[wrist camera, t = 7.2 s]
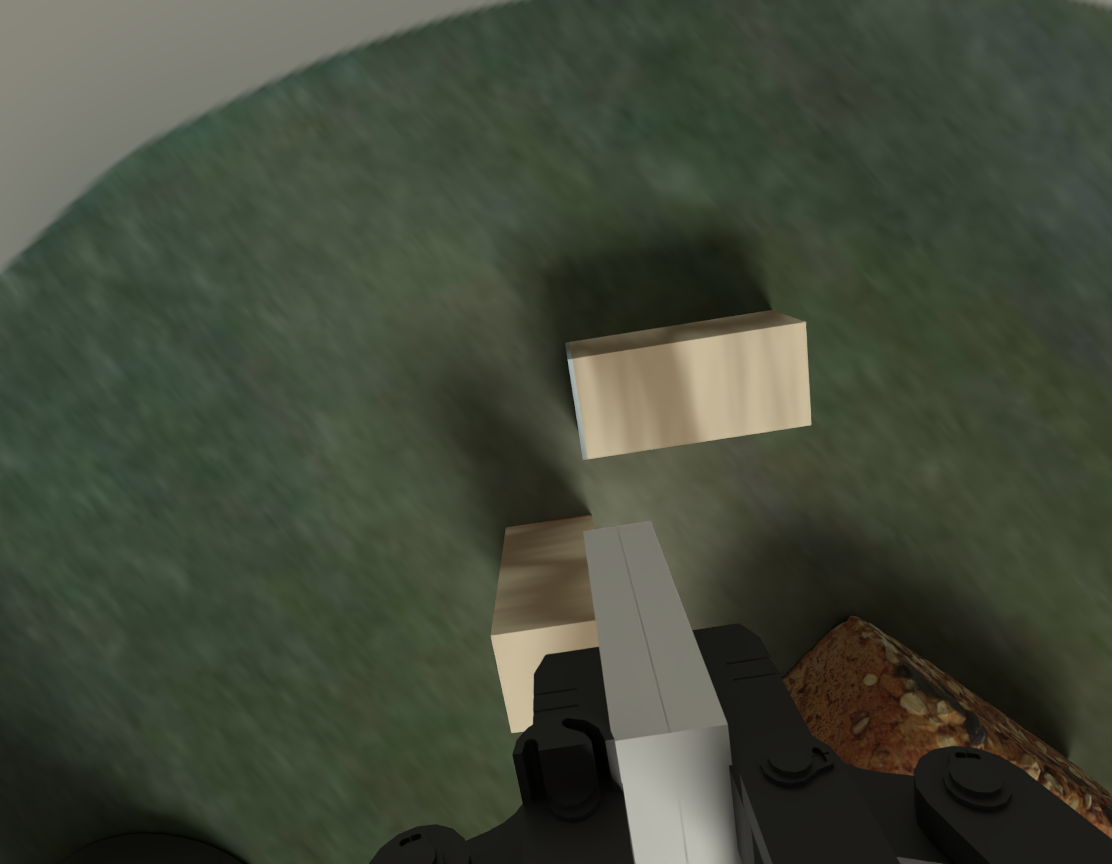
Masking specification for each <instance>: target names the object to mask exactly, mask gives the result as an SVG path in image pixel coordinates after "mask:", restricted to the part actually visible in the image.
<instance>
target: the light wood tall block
mask: <svg viewBox="0 0 1112 864" xmlns="http://www.w3.org/2000/svg"><path fill="white" fill-rule="evenodd" d="M587 530H594V528H593V521H592V515H584V516H578V517H571V518H564V519H558V520H551V521H545V522H538V523H532V524H525V525H519V526H512V527H506V530H505V537H504V544H503V551H502V559H501V566H500V573H499V580H498V587H497V595H496V602H495V609H494V616H493V623H492V630H491V639H492V644H493V649H494V653H495V658H496V663H497V667H498V672H499V677H500V681H501V686H502V691H503V695H504V700H505V705H506V709H507V714H508V719H509V724H510V728H511V733H516V732H523V731H525V730H526V729H527V728H528V727H529V726H531V725H533V715H534V714H533V698H534V695H533V690H534V673H535V671H536V669H537V668H538V666H539V665H540V663H541V661H542V660H543V658H544V656H545V655H547V654H553V653H560V652H567V651H573V650H580V649H586V648H593V647H599V642H598V635H597V628H596V621H595V613H594V606H593V599H592V592H591V585H590V577H589V570H588V563H587V556H586V549H585V541H584V534H583V531H587Z"/></svg>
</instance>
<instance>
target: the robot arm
mask: <svg viewBox="0 0 1112 864" xmlns="http://www.w3.org/2000/svg"><path fill="white" fill-rule="evenodd" d="M583 534H584V541H585V549H586V556H587V563H588V570H589V577H590V585H591V592H592V599H593V606H594V613H595V621H596V628H597V635H598V642H599V647H593V648H586V649H580V650H573V651H567V652H560V653H553V654H547V655H545V656H544V658H543V660H542V661H541V663H540V665H539V666H538V668H537V669H536V671H535V673H534V690H533V695H534V698H533V714H534V715H533V725H531V726H529V727H528V728H527V729H526V730H525V731H524V733H523V734H522V735H521V736H520V737H519V738H518V740H517V742H516V745H515V748H514V751H513V754H512V755H513V759H514V764H515V769H516V774H517V778H518V783H519V788H520V792H521V797H522V802H523V804H522V805H521V807H520V808H519V809H518V810H517V812H516V813H515V814H514V815H512V816H511V817H510V818H509V819H508V820H506V821H505V822H504V823H502V824H501V825H499V826H497V827H495V828H493V829H492V830H490V831H488V832H485V833H483V834H481V835H479V836H476V837H474V838H472V839H469V840H467V841H465V839H464V838H463V837H462V836H461V835H460V834H458V833H457V832H456V831H455V830H454V829H452V828H448V827H444V826H441V825H437V824H436V825H427V826H418V827H415V828H413V829H410V830H408V831H406V832H403V833H401V834H399V835H397V836H396V837H394V838H393V839H392V840H390V841H389V842H388V843H387V844H385V845H384V846H383V847H382V848H380V850H379V851H378V852H377V854H376V855H375V856H374V858H373V859H372V860H371V862H370V863H369V864H1112V839H1111V838H1110V837H1109V836H1107V835H1106V834H1105V833H1104V832H1102V831H1101V830H1100V829H1098V828H1097V827H1096V826H1095V825H1093V824H1092V823H1091V822H1089V821H1088V820H1087V819H1086V818H1084V817H1083V816H1082V815H1080V814H1079V813H1078V812H1077V811H1075V810H1074V809H1073V808H1071V807H1070V806H1069V805H1068V804H1066V803H1065V802H1064V801H1062V800H1061V799H1060V798H1059V797H1057V796H1056V795H1055V794H1053V793H1052V792H1051V791H1050V790H1048V789H1047V788H1046V787H1044V786H1043V785H1042V784H1041V783H1039V782H1038V781H1037V780H1035V779H1034V778H1033V777H1032V776H1030V775H1029V774H1028V773H1026V772H1025V771H1024V770H1023V769H1021V768H1020V767H1018V766H1016V765H1015V764H1013V763H1011V762H1010V761H1008V760H1006V759H1005V758H1003V757H1001V756H999V755H996V754H993V753H990V752H987V751H984V750H981V749H978V748H972V747H961V746H949V747H943V748H938V749H933V750H931V751H930V752H928V753H927V754H925V755H924V756H922V757H920V758H919V761H918V763H917V765H916V767H915V769H914V776H913V775H904V774H895V773H886V772H877V771H872V770H867V769H861V768H858V767H855V766H853V765H850V764H847V763H844V762H843V761H842V760H841V758H840V757H839V756H838V755H837V754H836V753H835V751H834V750H833V749H832V748H831V747H830V746H829V745H827V744H825V743H824V742H822V741H820V740H819V739H817V738H815V737H813V736H812V734H811V732H810V730H809V728H808V726H807V725H806V723H805V721H804V719H803V717H802V715H801V713H800V712H799V710H798V708H797V706H796V704H795V702H794V700H793V699H792V697H791V695H790V693H789V691H788V689H787V688H786V686H785V684H784V682H783V680H782V678H781V676H780V677H779V674H778V671H777V669H776V667H775V665H774V663H773V662H772V660H770V656H769V654H768V652H767V650H766V649H765V647H764V645H763V643H762V641H761V639H760V638H759V637H758V636H756V635H755V634H754V633H752V632H751V631H749V630H748V629H747V628H745V627H744V626H742V625H741V624H740V623H738V624H732V625H725V626H718V627H712V628H705V629H699V630H692V629H691V626H690V623H689V621H688V618H687V615H686V613H685V610H684V608H683V605H682V602H681V600H680V597H679V594H678V592H677V589H676V586H675V584H674V581H673V579H672V576H671V573H670V571H669V568H668V565H667V563H666V560H665V557H664V555H663V552H662V550H661V547H660V544H659V542H658V539H657V536H656V534H655V531H654V528H653V526H652V523H651V521H645V522H639V523H632V524H626V525H620V526H613V527H607V528H600V529H594V530H587V531H583ZM62 864H242V863H241V862H239V861H238V860H236V859H235V858H233V857H231V856H230V855H228V854H226V853H224V852H222V851H220V850H218V849H216V848H213V847H211V846H209V845H206V844H203V843H201V842H197V841H194V840H191V839H187V838H182V837H177V836H172V835H164V834H129V835H122V836H116V837H112V838H108V839H104V840H101V841H98V842H96V843H93V844H90V845H88V846H86V847H84V848H82V849H81V850H79V851H77V852H76V853H74V854H73V855H71V856H70V857H69V858H67V859H66V860H65V861H64V862H63V863H62Z"/></svg>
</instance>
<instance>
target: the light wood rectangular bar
mask: <svg viewBox="0 0 1112 864" xmlns="http://www.w3.org/2000/svg"><path fill="white" fill-rule="evenodd" d="M565 346H566V353H567V359H568V366H569V372H570V379H571V385H572V392H573V398H574V405H575V411H576V418H577V424H578V430H579V437H580V443H581V450H582V456H583V460H586V459H593V458H599V457H606V456H612V455H619V454H625V453H632V452H638V451H645V450H651V449H658V448H665V447H671V446H678V445H684V444H691V443H697V442H704V441H710V440H717V439H723V438H730V437H737V436H743V435H750V434H756V433H763V432H769V431H776V430H782V429H789V428H795V427H802V426H808V425H811V409H810V391H809V373H808V355H807V337H806V322H804V321H801V320H799V319H796V318H793V317H790V316H787V315H785V314H782V313H779V312H776V311H774V310H769V311H763V312H756V313H750V314H744V315H737V316H731V317H725V318H718V319H712V320H706V321H699V322H693V323H687V324H680V325H674V326H668V327H661V328H655V329H649V330H643V331H636V332H630V333H624V334H617V335H611V336H605V337H598V338H592V339H586V340H579V341H573V342H567V343H565Z"/></svg>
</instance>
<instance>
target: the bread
mask: <svg viewBox="0 0 1112 864" xmlns="http://www.w3.org/2000/svg"><path fill="white" fill-rule="evenodd" d="M782 680H783V682H784V684H785V686H786V688H787V689H788V691H789V693H790V695H791V697H792V699H793V700H794V702H795V704H796V706H797V708H798V710H799V712H800V713H801V715H802V717H803V719H804V721H805V723H806V725H807V726H808V728H809V730H810V732H811V734H812V736H813V737H815V738H817V739H819V740H820V741H822V742H824V743H825V744H827V745H829V746H830V747H831V748H832V749H833V750H834V751H835V753H836V754H837V755H838V756H839V757H840V758H841V760H842V761H843V762H844V763H847V764H850V765H853V766H855V767H858V768H861V769H867V770H872V771H877V772H886V773H895V774H904V775H913V776H914V769H915V767H916V765H917V763H918V761H919V758H920V757H922V756H924V755H925V754H927V753H928V752H930V751H931V750H933V749H938V748H943V747H949V746H961V747H972V748H978V749H981V750H984V751H987V752H990V753H993V754H996V755H999V756H1001V757H1003V758H1005V759H1006V760H1008V761H1010V762H1011V763H1013V764H1015V765H1016V766H1018V767H1020V768H1021V769H1023V770H1024V771H1025V772H1026V773H1028V774H1029V775H1030V776H1032V777H1033V778H1034V779H1035V780H1037V781H1038V782H1039V783H1041V784H1042V785H1043V786H1044V787H1046V788H1047V789H1048V790H1050V791H1051V792H1052V793H1053V794H1055V795H1056V796H1057V797H1059V798H1060V799H1061V800H1062V801H1064V802H1065V803H1066V804H1068V805H1069V806H1070V807H1071V808H1073V809H1074V810H1075V811H1077V812H1078V813H1079V814H1080V815H1082V816H1083V817H1084V818H1086V819H1087V820H1088V821H1089V822H1091V823H1092V824H1093V825H1095V826H1096V827H1097V828H1098V829H1100V830H1101V831H1102V832H1104V833H1105V834H1106V835H1107V836H1109V837H1110V838H1111V839H1112V794H1110V793H1109V792H1108V791H1107V790H1105V789H1104V788H1103V787H1102V786H1101V785H1099V784H1098V783H1097V782H1096V781H1094V780H1093V779H1092V778H1091V777H1089V776H1088V775H1087V774H1086V773H1085V772H1084V771H1083V770H1082V769H1081V768H1079V767H1078V766H1076V765H1075V764H1073V763H1072V762H1070V761H1069V760H1068V759H1066V758H1065V757H1064V756H1063V755H1062V754H1060V753H1059V752H1058V751H1056V750H1055V749H1053V748H1052V747H1050V746H1049V745H1047V744H1046V743H1045V742H1043V741H1042V740H1040V739H1039V738H1037V737H1036V736H1035V735H1033V734H1032V733H1030V732H1029V731H1027V730H1026V729H1024V728H1023V727H1021V726H1019V725H1018V724H1017V723H1016V722H1014V721H1013V720H1012V719H1010V718H1009V717H1007V716H1006V715H1005V714H1004V713H1002V712H1001V711H1000V710H999V709H997V708H995V707H993V706H992V705H991V704H990V703H988V702H986V701H985V700H983V699H982V698H981V697H979V696H978V695H976V694H975V693H973V692H972V691H970V690H968V689H967V688H965V687H964V686H963V685H961V684H960V683H958V682H957V681H956V680H954V679H953V678H952V677H950V676H949V675H948V674H947V673H945V672H942V671H941V670H939V669H938V668H937V667H936V666H934V665H933V664H932V663H930V662H929V661H928V660H926V659H924V658H923V657H921V656H919V655H918V654H916V653H915V652H913V651H912V650H910V649H909V648H907V647H906V646H904V645H903V644H901V643H900V642H899V641H897V640H896V639H895V638H893V637H892V636H890V635H888V634H886V633H884V632H882V631H881V630H880V629H878V628H877V627H875V626H874V625H873V624H871V623H869V622H867V621H865V620H862V619H861V618H860V617H856V616H852V615H851V617H850V618H849V619H848V621H846V622H844V623H842V624H839V625H838V626H837V627H835V628H834V629H832V630H831V631H830V632H828V633H827V634H826V635H825V636H824V637H823V638H822V639H821V640H820V641H819V642H818V643H817V644H816V646H815V647H814V648H813V649H812V650H811V651H809V652H808V653H807V654H806V655H805V656H804V657H803V658H802V659H801V660H800V661H799V663H798V664H797V665H796V666H795V667H794V669H793V670H792V671H791V672H789V673H788V674H787V675H786V676H785V677H783V678H782Z"/></svg>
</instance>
